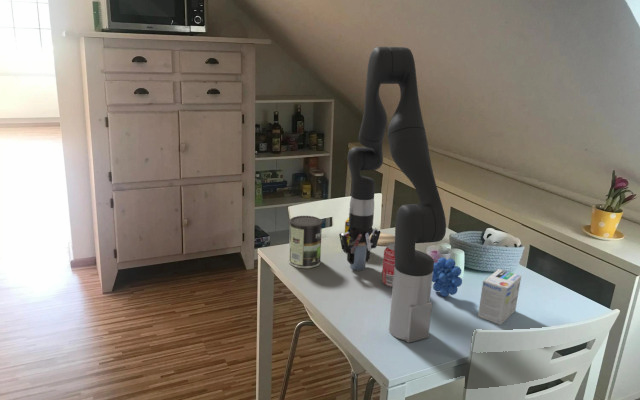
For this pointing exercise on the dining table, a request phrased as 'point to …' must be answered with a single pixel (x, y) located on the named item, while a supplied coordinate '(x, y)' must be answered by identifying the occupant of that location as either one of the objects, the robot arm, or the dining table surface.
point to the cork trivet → (385, 239)
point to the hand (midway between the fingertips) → (358, 261)
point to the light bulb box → (499, 296)
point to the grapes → (446, 276)
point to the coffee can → (305, 241)
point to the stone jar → (359, 257)
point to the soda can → (388, 265)
